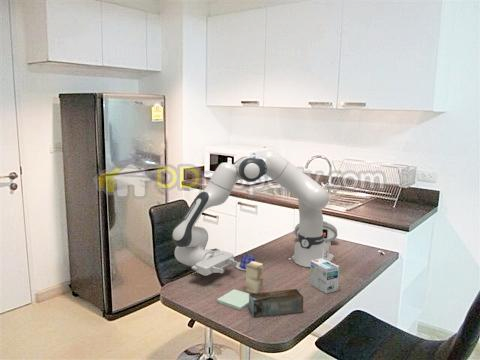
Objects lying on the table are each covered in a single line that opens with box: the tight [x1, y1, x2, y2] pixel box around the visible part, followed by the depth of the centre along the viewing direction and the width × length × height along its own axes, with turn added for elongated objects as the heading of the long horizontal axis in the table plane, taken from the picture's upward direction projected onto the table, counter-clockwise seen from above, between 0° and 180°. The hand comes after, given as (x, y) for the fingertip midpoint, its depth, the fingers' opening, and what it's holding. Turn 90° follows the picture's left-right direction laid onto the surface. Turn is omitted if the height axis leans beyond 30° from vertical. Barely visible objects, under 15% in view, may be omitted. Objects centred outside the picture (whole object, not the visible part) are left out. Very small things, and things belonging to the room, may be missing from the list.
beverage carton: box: [248, 288, 304, 318], centre depth 148 cm, size 8×19×7 cm, turn 102°
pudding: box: [235, 254, 257, 271], centre depth 189 cm, size 12×12×5 cm
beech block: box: [245, 261, 264, 293], centre depth 164 cm, size 5×5×11 cm
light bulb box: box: [309, 258, 340, 294], centre depth 167 cm, size 11×7×11 cm, turn 30°
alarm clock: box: [293, 220, 338, 246], centre depth 222 cm, size 23×6×13 cm, turn 79°
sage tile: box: [216, 289, 250, 311], centre depth 155 cm, size 11×11×1 cm
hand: (230, 267), depth 171 cm, fingers open, 8 cm apart
